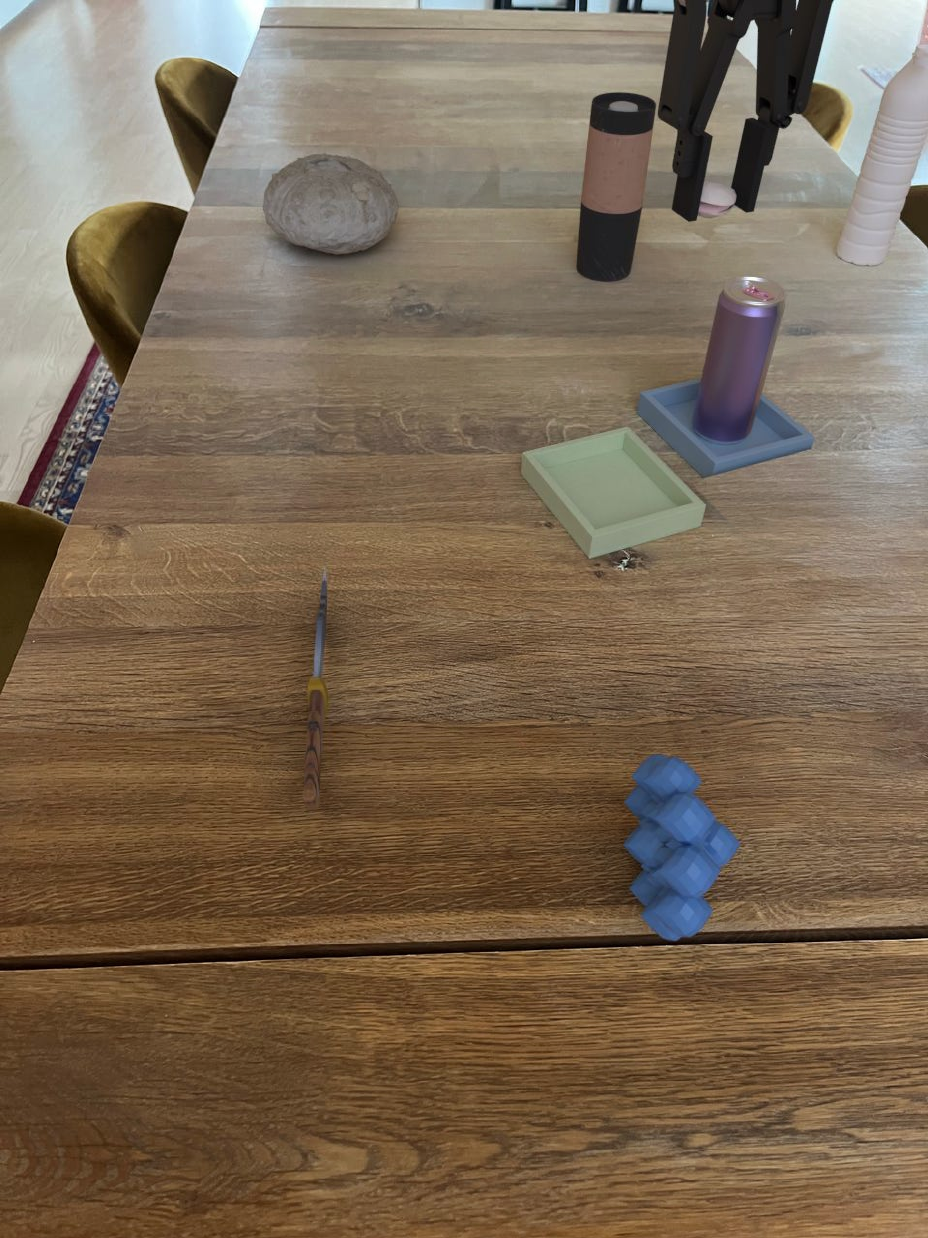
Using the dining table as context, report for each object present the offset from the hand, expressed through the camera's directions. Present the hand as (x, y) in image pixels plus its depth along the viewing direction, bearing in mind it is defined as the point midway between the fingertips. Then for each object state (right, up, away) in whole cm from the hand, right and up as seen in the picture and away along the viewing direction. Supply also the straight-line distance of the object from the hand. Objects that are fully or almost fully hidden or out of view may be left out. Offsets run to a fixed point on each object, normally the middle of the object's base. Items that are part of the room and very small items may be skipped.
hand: (712, 209), depth 79 cm
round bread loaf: (-39, +17, +49) cm, 65 cm away
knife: (-31, -40, -8) cm, 52 cm away
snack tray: (-7, -23, +9) cm, 26 cm away
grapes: (-8, -52, -20) cm, 56 cm away
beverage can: (+5, -15, +17) cm, 23 cm away
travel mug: (-3, +11, +44) cm, 46 cm away
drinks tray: (+5, -15, +17) cm, 24 cm away
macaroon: (0, 0, +1) cm, 1 cm away
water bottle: (+32, +14, +47) cm, 59 cm away
